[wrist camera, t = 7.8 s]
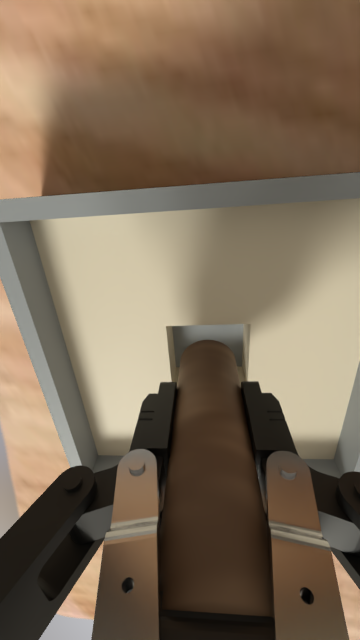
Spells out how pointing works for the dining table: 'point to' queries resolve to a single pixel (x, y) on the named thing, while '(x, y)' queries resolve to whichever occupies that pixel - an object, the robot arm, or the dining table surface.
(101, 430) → the peg box
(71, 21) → the dining table surface
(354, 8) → the dining table surface
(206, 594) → the peg
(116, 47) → the dining table surface
